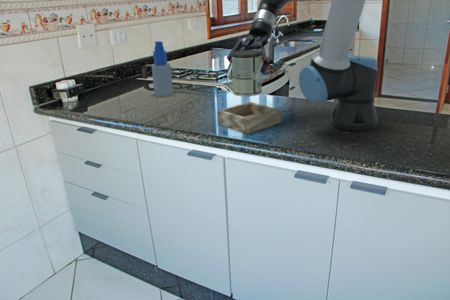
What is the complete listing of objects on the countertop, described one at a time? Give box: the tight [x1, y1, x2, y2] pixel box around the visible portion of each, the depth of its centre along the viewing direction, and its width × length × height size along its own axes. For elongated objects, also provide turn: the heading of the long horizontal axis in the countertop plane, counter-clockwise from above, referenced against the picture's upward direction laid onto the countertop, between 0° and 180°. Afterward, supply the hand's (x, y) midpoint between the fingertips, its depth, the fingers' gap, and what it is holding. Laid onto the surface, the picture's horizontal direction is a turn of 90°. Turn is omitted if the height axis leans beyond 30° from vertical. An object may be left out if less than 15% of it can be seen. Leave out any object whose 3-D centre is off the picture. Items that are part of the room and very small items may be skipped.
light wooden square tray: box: [217, 101, 282, 135], centre depth 134 cm, size 16×16×5 cm
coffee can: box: [231, 50, 263, 97], centre depth 129 cm, size 10×10×14 cm
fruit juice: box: [255, 43, 271, 81], centre depth 203 cm, size 9×9×28 cm
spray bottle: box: [151, 41, 174, 98], centre depth 179 cm, size 9×9×25 cm
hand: (242, 79), depth 128 cm, fingers closed on coffee can, 10 cm apart
